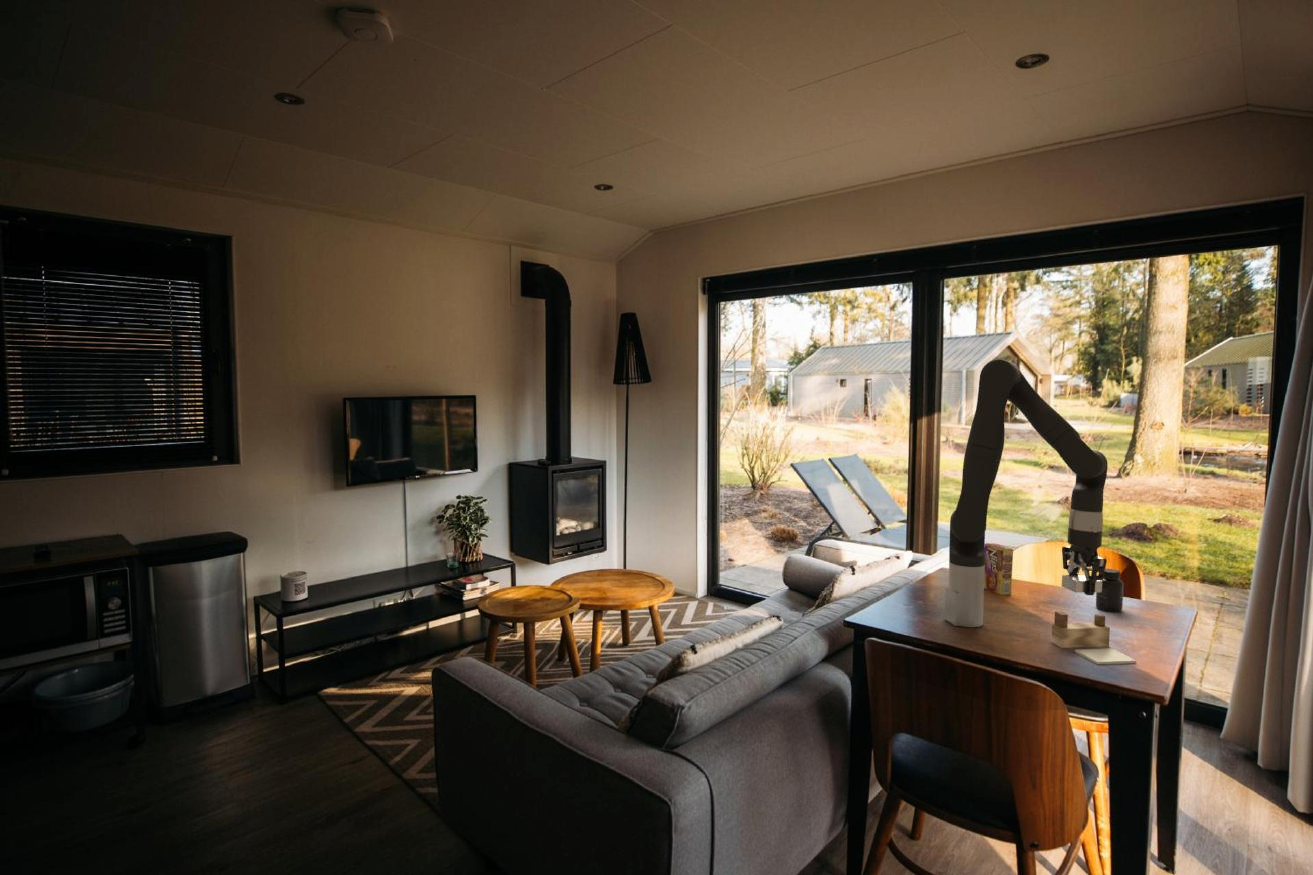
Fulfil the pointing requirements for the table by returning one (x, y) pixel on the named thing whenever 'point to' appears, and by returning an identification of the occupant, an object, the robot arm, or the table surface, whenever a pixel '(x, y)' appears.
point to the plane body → (1079, 632)
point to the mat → (1105, 656)
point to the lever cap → (1078, 583)
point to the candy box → (998, 568)
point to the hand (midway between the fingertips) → (1081, 591)
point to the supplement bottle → (1110, 592)
